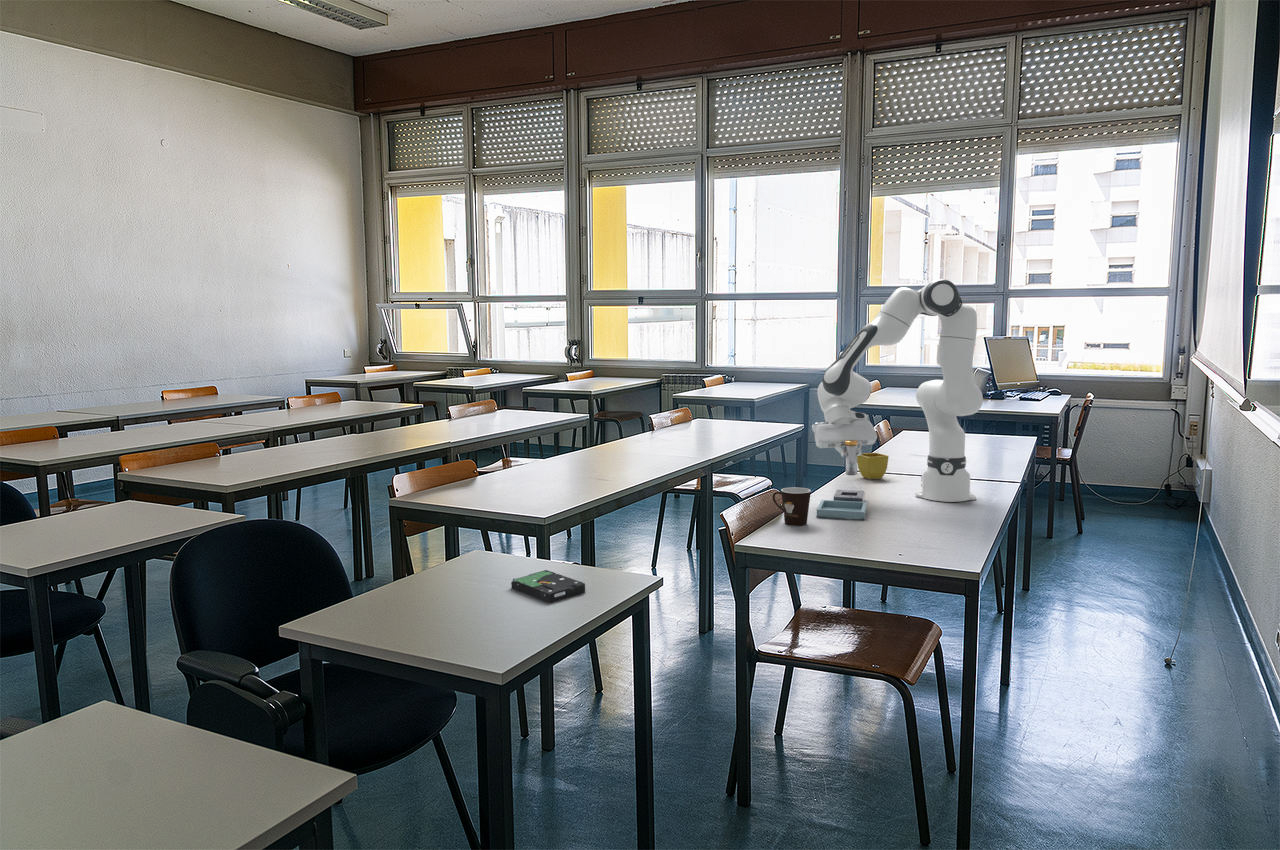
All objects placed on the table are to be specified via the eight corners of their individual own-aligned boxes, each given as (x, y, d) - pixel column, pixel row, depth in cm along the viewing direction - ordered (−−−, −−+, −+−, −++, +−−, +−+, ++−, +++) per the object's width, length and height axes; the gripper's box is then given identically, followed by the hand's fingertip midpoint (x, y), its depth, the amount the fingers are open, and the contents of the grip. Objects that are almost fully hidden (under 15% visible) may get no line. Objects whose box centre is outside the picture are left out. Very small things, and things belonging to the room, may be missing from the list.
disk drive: (586, 595, 190) (546, 580, 201) (586, 583, 190) (546, 568, 201) (549, 606, 183) (510, 590, 194) (549, 593, 183) (509, 578, 194)
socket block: (836, 498, 283) (836, 489, 283) (864, 499, 280) (864, 490, 280) (833, 506, 272) (833, 496, 272) (862, 507, 269) (862, 498, 269)
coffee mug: (816, 525, 248) (816, 491, 246) (790, 528, 244) (791, 494, 243) (794, 516, 258) (795, 484, 257) (770, 519, 255) (770, 487, 254)
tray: (821, 507, 270) (821, 499, 270) (866, 509, 266) (866, 502, 266) (816, 517, 257) (816, 509, 257) (864, 520, 253) (864, 512, 252)
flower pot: (855, 477, 320) (855, 453, 319) (875, 475, 323) (876, 452, 321) (868, 481, 312) (868, 457, 311) (888, 479, 314) (889, 455, 313)
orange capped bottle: (845, 473, 278) (845, 439, 276) (858, 473, 276) (857, 440, 275) (844, 475, 274) (844, 441, 272) (857, 475, 273) (857, 441, 271)
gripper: (812, 417, 278) (823, 451, 270) (871, 413, 281) (884, 447, 273) (807, 429, 283) (818, 463, 275) (865, 425, 286) (878, 458, 278)
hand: (852, 455), depth 274 cm, fingers closed on orange capped bottle, 4 cm apart
